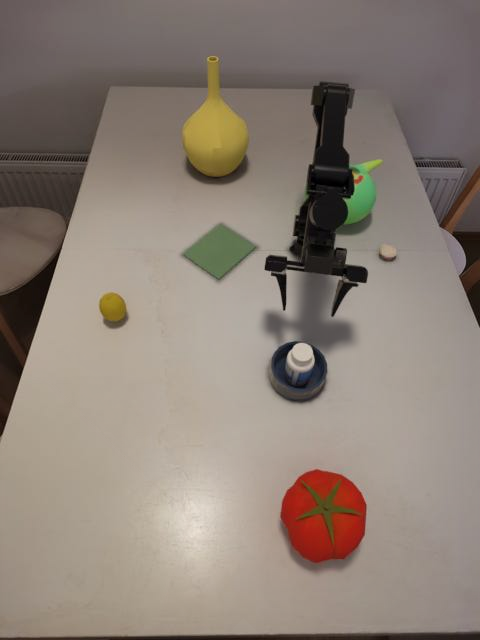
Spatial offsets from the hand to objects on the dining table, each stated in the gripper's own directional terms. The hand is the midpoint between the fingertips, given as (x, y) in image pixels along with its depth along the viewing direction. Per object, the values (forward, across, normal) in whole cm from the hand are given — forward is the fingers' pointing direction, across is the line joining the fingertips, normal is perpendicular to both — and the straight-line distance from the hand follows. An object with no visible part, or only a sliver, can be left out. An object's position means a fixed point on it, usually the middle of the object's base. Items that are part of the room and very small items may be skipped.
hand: (308, 313), depth 82 cm
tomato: (+33, +6, -15) cm, 37 cm away
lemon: (+8, -41, +10) cm, 43 cm away
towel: (-8, -22, +26) cm, 35 cm away
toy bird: (-21, +6, +40) cm, 46 cm away
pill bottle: (+14, 0, +4) cm, 14 cm away
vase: (-31, -29, +49) cm, 65 cm away
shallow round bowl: (+14, 0, +4) cm, 15 cm away
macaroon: (-12, +20, +30) cm, 38 cm away
